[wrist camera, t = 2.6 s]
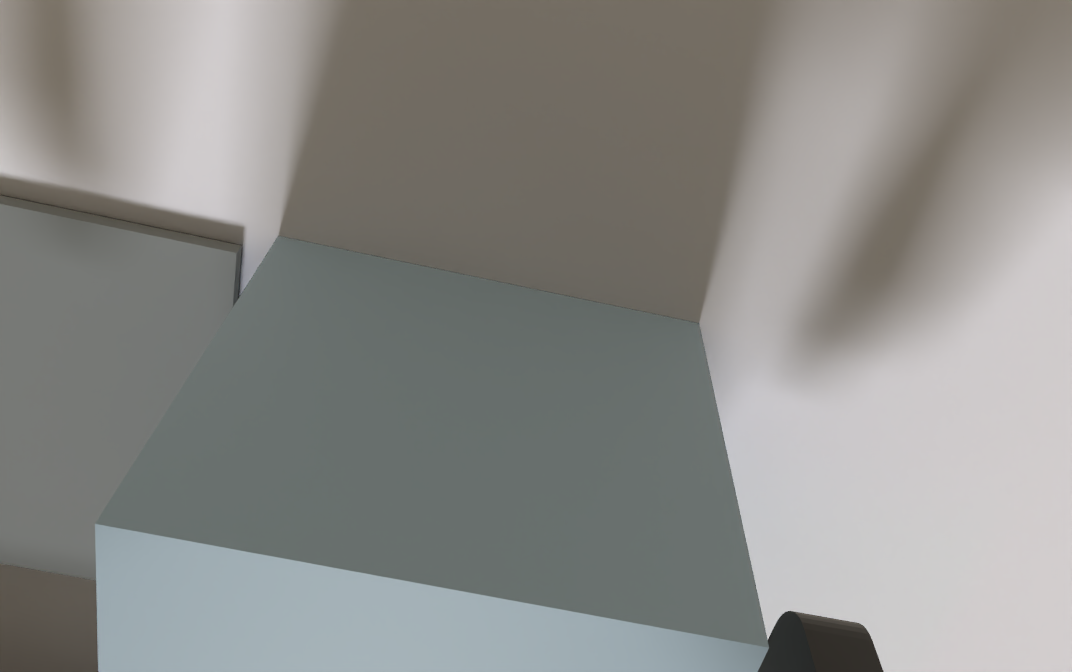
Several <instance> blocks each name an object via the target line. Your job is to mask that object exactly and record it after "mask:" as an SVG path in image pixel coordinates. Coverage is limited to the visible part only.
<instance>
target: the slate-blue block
mask: <svg viewBox="0 0 1072 672" xmlns="http://www.w3.org/2000/svg"><path fill="white" fill-rule="evenodd" d="M95 549H96V596H97V643H98V672H758V670H759V668H760V666H761V664H762V662H763V659H764V657H765V655H766V653H767V651H768V649H769V645H768V640H767V635H766V631H765V626H764V622H763V617H762V612H761V608H760V603H759V598H758V594H757V589H756V585H755V580H754V575H753V571H752V566H751V561H750V557H749V552H748V548H747V543H746V538H745V534H744V529H743V525H742V520H741V515H740V511H739V506H738V501H737V497H736V492H735V488H734V483H733V478H732V474H731V469H730V464H729V460H728V455H727V451H726V446H725V441H724V437H723V432H722V427H721V423H720V418H719V414H718V409H717V404H716V400H715V395H714V390H713V386H712V381H711V377H710V372H709V367H708V363H707V358H706V353H705V349H704V344H703V340H702V335H701V330H700V326H699V323H695V322H690V321H685V320H680V319H676V318H671V317H666V316H661V315H656V314H651V313H647V312H642V311H637V310H632V309H627V308H623V307H618V306H613V305H608V304H603V303H599V302H594V301H589V300H584V299H579V298H575V297H570V296H565V295H560V294H555V293H551V292H546V291H541V290H536V289H531V288H527V287H522V286H517V285H512V284H507V283H502V282H498V281H493V280H488V279H483V278H478V277H474V276H469V275H464V274H459V273H454V272H450V271H445V270H440V269H435V268H430V267H426V266H421V265H416V264H411V263H406V262H402V261H397V260H392V259H387V258H382V257H377V256H373V255H368V254H363V253H358V252H353V251H349V250H344V249H339V248H334V247H329V246H325V245H320V244H315V243H310V242H305V241H301V240H296V239H291V238H286V237H281V236H278V238H277V239H276V241H275V242H274V244H273V245H272V247H271V248H270V250H269V252H268V253H267V255H266V256H265V258H264V259H263V261H262V263H261V264H260V266H259V267H258V269H257V270H256V272H255V274H254V275H253V277H252V278H251V280H250V281H249V283H248V285H247V286H246V288H245V289H244V291H243V292H242V294H241V296H240V297H239V299H238V300H237V302H236V303H235V305H234V307H233V308H232V310H231V311H230V313H229V314H228V316H227V318H226V319H225V321H224V322H223V324H222V325H221V327H220V328H219V330H218V332H217V333H216V335H215V336H214V338H213V339H212V341H211V343H210V344H209V346H208V347H207V349H206V350H205V352H204V354H203V355H202V357H201V358H200V360H199V361H198V363H197V365H196V366H195V368H194V369H193V371H192V372H191V374H190V376H189V377H188V379H187V380H186V382H185V383H184V385H183V387H182V388H181V390H180V391H179V393H178V394H177V396H176V397H175V399H174V401H173V402H172V404H171V405H170V407H169V408H168V410H167V412H166V413H165V415H164V416H163V418H162V419H161V421H160V423H159V424H158V426H157V427H156V429H155V430H154V432H153V434H152V435H151V437H150V438H149V440H148V441H147V443H146V445H145V446H144V448H143V449H142V451H141V452H140V454H139V456H138V457H137V459H136V460H135V462H134V463H133V465H132V467H131V468H130V470H129V471H128V473H127V474H126V476H125V477H124V479H123V481H122V482H121V484H120V485H119V487H118V488H117V490H116V492H115V493H114V495H113V496H112V498H111V499H110V501H109V503H108V504H107V506H106V507H105V509H104V510H103V512H102V514H101V515H100V517H99V518H98V520H97V521H96V523H95Z"/></svg>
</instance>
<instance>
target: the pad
mask: <svg viewBox="0 0 1072 672" xmlns="http://www.w3.org/2000/svg"><path fill="white" fill-rule="evenodd" d="M241 250H242V246H241V245H237V244H232V243H227V242H222V241H217V240H213V239H208V238H203V237H198V236H194V235H189V234H184V233H179V232H174V231H170V230H165V229H160V228H155V227H150V226H146V225H141V224H136V223H131V222H126V221H122V220H117V219H112V218H107V217H103V216H98V215H93V214H88V213H83V212H79V211H74V210H69V209H64V208H59V207H55V206H50V205H45V204H40V203H35V202H31V201H26V200H21V199H16V198H12V197H7V196H2V195H0V564H6V565H11V566H17V567H23V568H28V569H34V570H39V571H45V572H50V573H56V574H61V575H67V576H72V577H78V578H84V579H89V580H95V581H96V549H95V523H96V521H97V520H98V518H99V517H100V515H101V514H102V512H103V510H104V509H105V507H106V506H107V504H108V503H109V501H110V499H111V498H112V496H113V495H114V493H115V492H116V490H117V488H118V487H119V485H120V484H121V482H122V481H123V479H124V477H125V476H126V474H127V473H128V471H129V470H130V468H131V467H132V465H133V463H134V462H135V460H136V459H137V457H138V456H139V454H140V452H141V451H142V449H143V448H144V446H145V445H146V443H147V441H148V440H149V438H150V437H151V435H152V434H153V432H154V430H155V429H156V427H157V426H158V424H159V423H160V421H161V419H162V418H163V416H164V415H165V413H166V412H167V410H168V408H169V407H170V405H171V404H172V402H173V401H174V399H175V397H176V396H177V394H178V393H179V391H180V390H181V388H182V387H183V385H184V383H185V382H186V380H187V379H188V377H189V376H190V374H191V372H192V371H193V369H194V368H195V366H196V365H197V363H198V361H199V360H200V358H201V357H202V355H203V354H204V352H205V350H206V349H207V347H208V346H209V344H210V343H211V341H212V339H213V338H214V336H215V335H216V333H217V332H218V330H219V328H220V327H221V325H222V324H223V322H224V321H225V319H226V318H227V316H228V314H229V313H230V311H231V310H232V308H233V307H234V305H235V303H236V302H237V300H238V293H239V278H240V264H241Z"/></svg>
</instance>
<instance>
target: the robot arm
mask: <svg viewBox="0 0 1072 672" xmlns="http://www.w3.org/2000/svg"><path fill="white" fill-rule="evenodd" d="M768 645H769V649H768V651H767V653H766V655H765V657H764V659H763V662H762V664H761V666H760V668H759V670H758V672H883V669H882V667H881V664H880V661H879V658H878V655H877V653H876V650H875V647H874V644H873V641H872V639H871V637H870V634H869V633H868V631H867V630H866V628H865V627H864V626H863V625H861V624H859V623H855V622H849V621H844V620H838V619H832V618H827V617H821V616H815V615H810V614H804V613H798V612H793V611H788V612H785V613H784V614H783V615H782V616H781V617H780V618H779V619H778V621H777V623H776V625H775V627H774V629H773V631H772V633H771V635H770V637H769V639H768Z"/></svg>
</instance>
